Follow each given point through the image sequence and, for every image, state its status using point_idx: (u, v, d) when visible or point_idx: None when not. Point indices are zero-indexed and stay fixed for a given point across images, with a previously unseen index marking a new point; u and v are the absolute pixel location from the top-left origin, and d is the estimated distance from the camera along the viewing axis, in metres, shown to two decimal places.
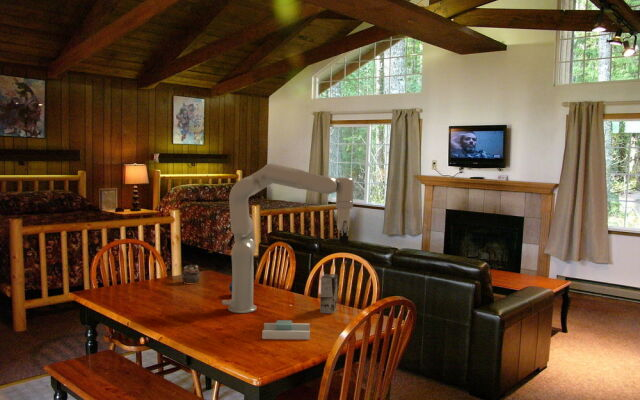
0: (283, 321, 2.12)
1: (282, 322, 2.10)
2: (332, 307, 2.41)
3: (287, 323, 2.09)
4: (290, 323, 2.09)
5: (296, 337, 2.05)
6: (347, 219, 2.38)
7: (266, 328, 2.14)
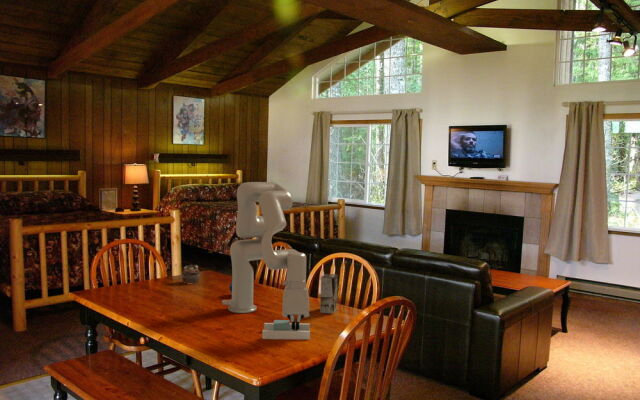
0: (280, 321, 2.11)
1: (280, 322, 2.10)
2: (332, 307, 2.41)
3: (284, 323, 2.09)
4: (287, 323, 2.09)
5: (296, 337, 2.05)
6: None
7: (266, 328, 2.14)
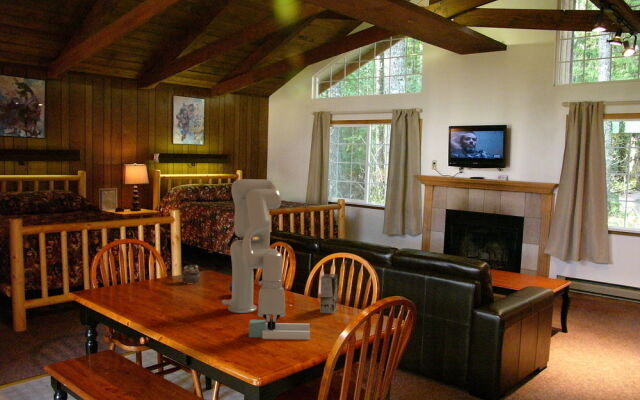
0: (256, 320, 2.11)
1: (256, 322, 2.09)
2: (332, 307, 2.41)
3: (260, 322, 2.08)
4: (263, 322, 2.08)
5: (296, 337, 2.05)
6: None
7: (266, 328, 2.14)
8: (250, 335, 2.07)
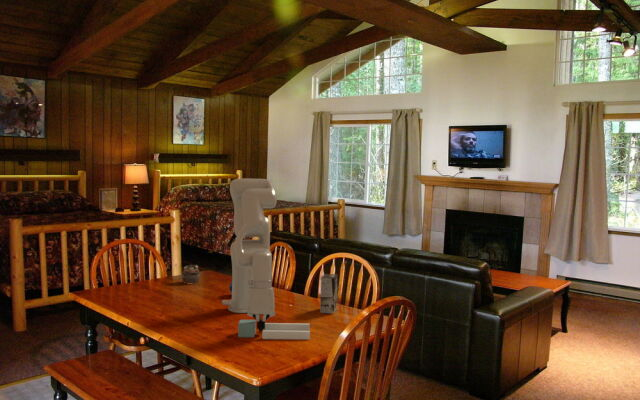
0: (246, 320, 2.11)
1: (245, 321, 2.09)
2: (332, 307, 2.41)
3: (250, 322, 2.08)
4: (253, 322, 2.08)
5: (296, 337, 2.05)
6: None
7: (266, 328, 2.14)
8: (239, 335, 2.06)
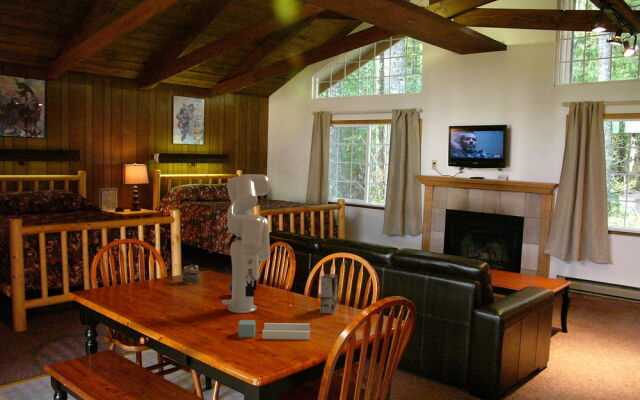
0: (246, 321, 2.11)
1: (245, 322, 2.09)
2: (332, 307, 2.41)
3: (250, 323, 2.08)
4: (253, 323, 2.08)
5: (296, 337, 2.05)
6: None
7: (266, 328, 2.14)
8: (240, 335, 2.07)
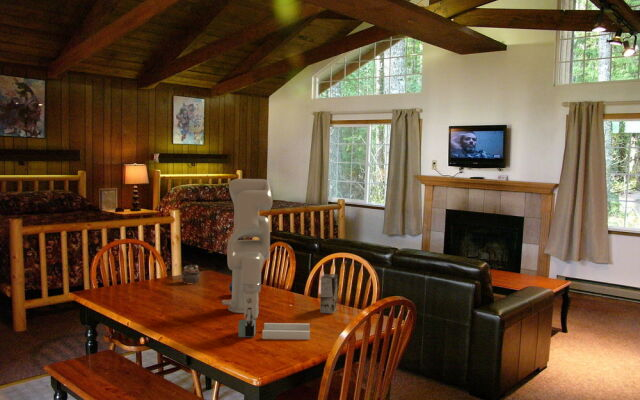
0: None
1: (245, 321, 2.10)
2: (332, 307, 2.41)
3: None
4: (253, 322, 2.09)
5: (296, 337, 2.05)
6: None
7: (266, 328, 2.14)
8: (240, 335, 2.07)
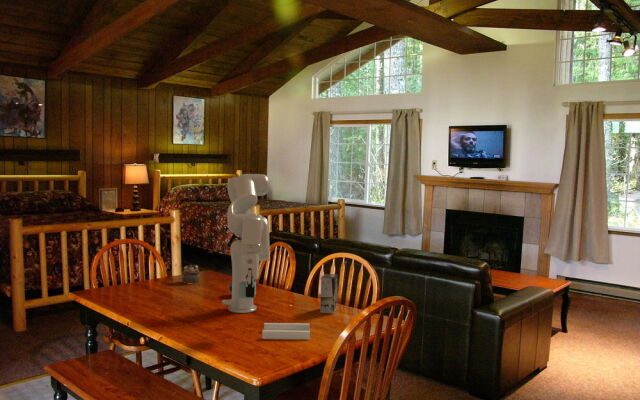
0: None
1: None
2: (332, 307, 2.41)
3: None
4: None
5: (296, 337, 2.05)
6: None
7: (266, 328, 2.14)
8: (240, 296, 2.06)
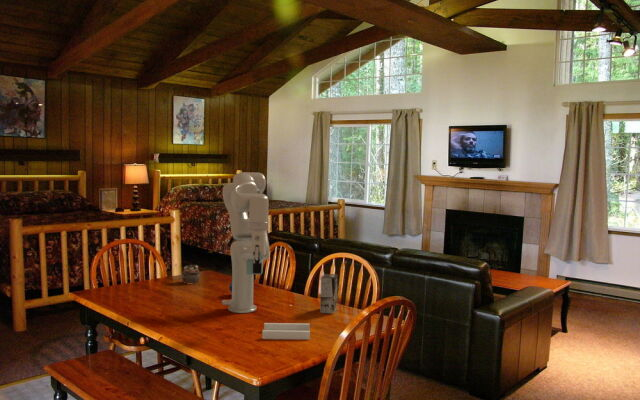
0: None
1: (253, 260, 2.15)
2: (332, 307, 2.41)
3: None
4: None
5: (296, 337, 2.05)
6: None
7: (266, 328, 2.14)
8: (247, 272, 2.12)
